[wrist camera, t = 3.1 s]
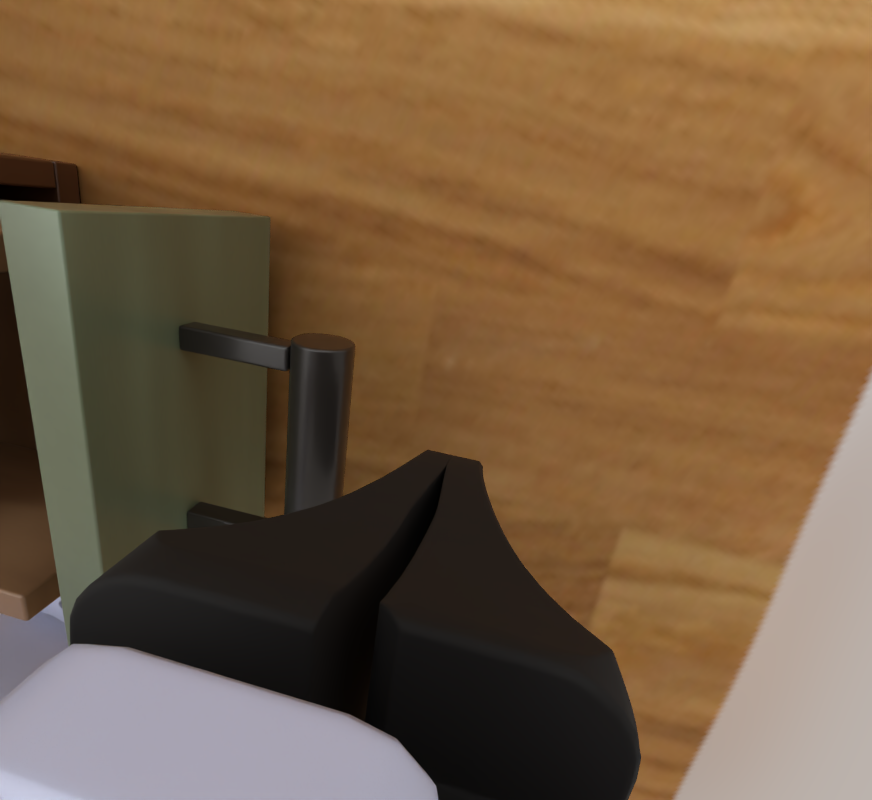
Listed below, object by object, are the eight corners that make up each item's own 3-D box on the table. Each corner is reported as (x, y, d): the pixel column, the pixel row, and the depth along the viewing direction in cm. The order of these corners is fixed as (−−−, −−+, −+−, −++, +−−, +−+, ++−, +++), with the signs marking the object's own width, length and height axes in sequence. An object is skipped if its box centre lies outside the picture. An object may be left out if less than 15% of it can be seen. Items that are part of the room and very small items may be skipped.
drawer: (409, 238, 14) (295, 249, 7) (373, 548, 17) (276, 731, 11) (-89, 159, 16) (-493, 117, 10) (-28, 448, 20) (-295, 552, 13)
